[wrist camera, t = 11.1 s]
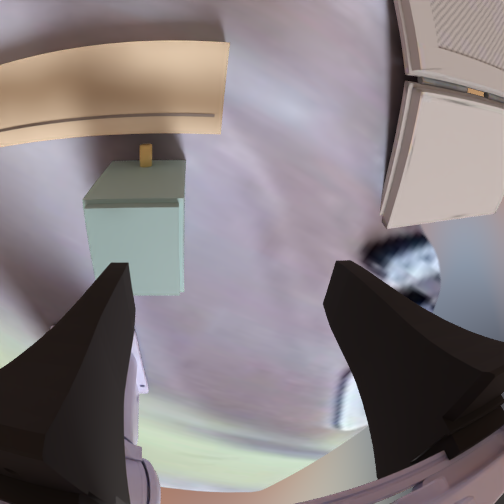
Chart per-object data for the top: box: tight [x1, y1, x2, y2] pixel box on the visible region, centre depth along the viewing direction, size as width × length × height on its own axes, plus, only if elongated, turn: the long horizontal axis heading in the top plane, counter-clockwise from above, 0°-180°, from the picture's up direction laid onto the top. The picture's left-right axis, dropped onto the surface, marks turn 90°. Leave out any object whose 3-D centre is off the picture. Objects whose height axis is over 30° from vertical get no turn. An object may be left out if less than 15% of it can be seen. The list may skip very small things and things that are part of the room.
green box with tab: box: [82, 144, 186, 295], centre depth 16 cm, size 6×4×6 cm
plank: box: [0, 40, 230, 147], centre depth 13 cm, size 5×22×2 cm, turn 84°
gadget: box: [380, 0, 504, 229], centre depth 16 cm, size 23×15×4 cm, turn 4°
